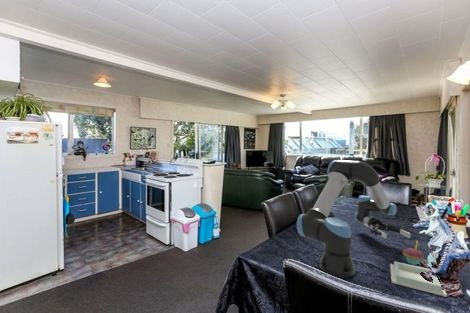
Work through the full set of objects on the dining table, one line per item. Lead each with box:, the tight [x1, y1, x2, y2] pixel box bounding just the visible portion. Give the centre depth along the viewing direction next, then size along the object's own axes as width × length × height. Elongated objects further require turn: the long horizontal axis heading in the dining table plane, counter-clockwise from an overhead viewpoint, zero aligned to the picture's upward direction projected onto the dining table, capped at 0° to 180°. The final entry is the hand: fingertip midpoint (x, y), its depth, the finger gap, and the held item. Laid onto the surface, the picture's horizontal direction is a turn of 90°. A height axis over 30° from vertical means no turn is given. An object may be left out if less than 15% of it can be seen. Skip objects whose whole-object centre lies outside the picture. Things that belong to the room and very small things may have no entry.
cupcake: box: [402, 239, 425, 266], centre depth 118 cm, size 9×8×12 cm
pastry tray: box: [389, 261, 448, 298], centre depth 104 cm, size 18×18×3 cm
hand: (397, 236), depth 129 cm, fingers open, 13 cm apart
